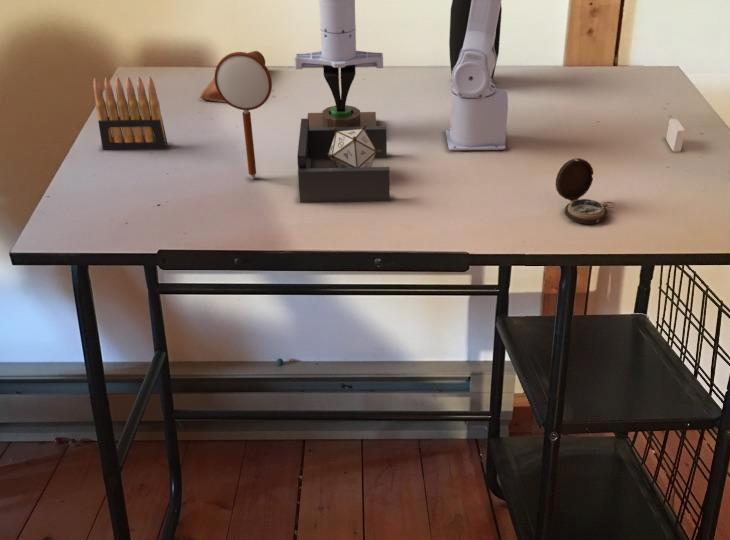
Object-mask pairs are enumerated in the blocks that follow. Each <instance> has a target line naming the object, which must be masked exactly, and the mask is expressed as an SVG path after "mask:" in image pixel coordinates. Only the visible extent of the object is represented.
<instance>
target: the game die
mask: <svg viewBox="0 0 730 540" xmlns="http://www.w3.org/2000/svg"><path fill="white" fill-rule="evenodd" d="M366 127H367V126H366V124H364V125H363V128H362V129H352V130H342V131H337V129H336V128H335V127H333V130H334V131H335V135H334V138H333V141H332V144H331V147H330V149H329V152H328V153H325V154H324V156H325V157H326V156H328V157H329V158H330V159H329V160H330V162H331V163H332V165H333V168H355V167H372V165H373V163H374V160H375V159H376V158H375V155H376V153H380V152H381V150H376V149H375V147H374V145H373V144H372V142H371V140H370V138H369V137H368V135H367V133H366V131H365V128H366Z"/></svg>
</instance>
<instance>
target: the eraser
mask: <svg viewBox="0 0 730 540" xmlns="http://www.w3.org/2000/svg"><path fill="white" fill-rule="evenodd" d="M685 131H686V130H685V129H684V127H683V126H682V124H681V123H680V121H679V120H678V118H670V119H669V123H668V127H667V132H666V138H665V140H666V142H667V144H668V145H669V147H670V149H671V150H672V152H674V153H675V152H677V153H678V152H681V151H682V146H683V143H684V138H685Z"/></svg>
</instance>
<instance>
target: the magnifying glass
mask: <svg viewBox="0 0 730 540" xmlns="http://www.w3.org/2000/svg"><path fill="white" fill-rule="evenodd" d="M213 78H214V79H215V85H216V89H217V91H218V93H219V94H220V96H221V97H222V99H223V100H224V101H225V102H227V103H226V104H228V105H229V106H231V107H232V108H235V109H237V110H241V111H242V112H241V114H242V123H243V132H244V141H245V142H244V143H245V150H246V151H245V153H246V161H247V170H248V175H249V176H250V179H251V180H255V179H256V174H257V167H256V166H257V165H256V157H255V146H254V137H253V127H252V126H253V125H252V117H251V111H252V110H253V111H254V110H256V109H258V108H260V107H262V106H263V105H264V104H265V103H267V101H268V99H269V98H270V97H271V93H272V88H273V82H272V81H273V80H272V75H271V72H270V71H269V69H268V67H267V66H266V63H265V64H264V63H263V62H262V61H261V60H260V59H258V58H257V57H255V56H254V55H252V54H249V52H246V51H245V52H244V51H236V52H231V53H229V54H226V55H225V56H224V57H222V58H221V59H220V61H218V63H217V65H216V68H215V71H214V77H213Z"/></svg>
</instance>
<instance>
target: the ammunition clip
mask: <svg viewBox="0 0 730 540" xmlns="http://www.w3.org/2000/svg"><path fill="white" fill-rule="evenodd" d="M125 83H126V85H125V86H126V94H127V95H125V90H124V87H123V83H122V81H121V79H120V78H119V76H116V78H115V93H116V99H117V100H116V99H115V94H114V91H113V87H112V84H111V82H110V80H109V78H108V77H107V76H106V77H104V92H105V93H104V94H105V97H104V94H103V91H102V87H101V84H100V82H99V80H98V78H97V77H96V76H94V78H93V94H94V102H95V110H96V114H97V119H98V121H97V122H98V129H99V134H100V135H99V136H100V142H101V149H102V150H103V151H121V150H122V151H130V150H132V151H133V150H140V151H141V150H166V149H167V148H168V139H167V135H166V129H165V126H164V121H163V117H162V112H161V105H160V101H159V98H158V94H157V89H156V86H155V82H154V80H153V78H152V77H151V76H148V79H147V91H148V96H147V93H146V88H145V85H144V82H143V80H142V78H141V76H138V77H137V81H136V89H137V90H136V91H137V95H136V91H135V87H134V84H133V82H132V79H131V78H130V77H129V76H127V77H126V82H125ZM126 96H127V98H126ZM137 97H138V99H137ZM147 97H148V98H147ZM104 98H105V99H104Z"/></svg>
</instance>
